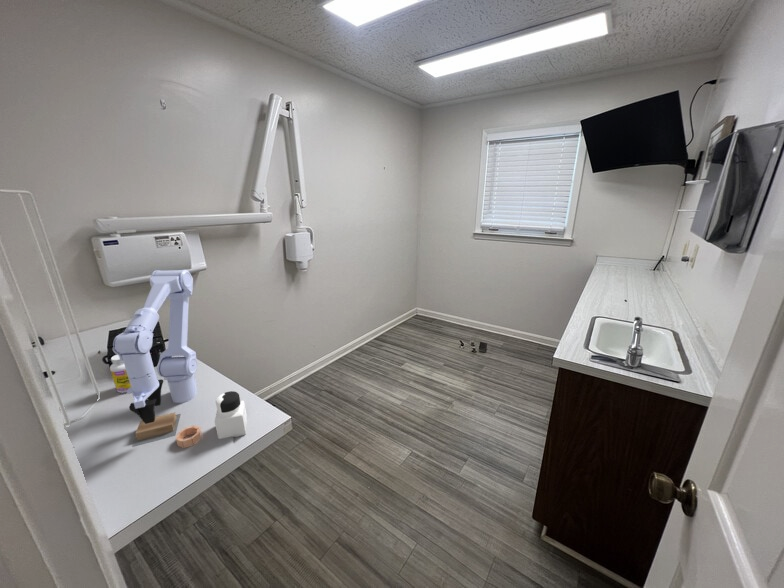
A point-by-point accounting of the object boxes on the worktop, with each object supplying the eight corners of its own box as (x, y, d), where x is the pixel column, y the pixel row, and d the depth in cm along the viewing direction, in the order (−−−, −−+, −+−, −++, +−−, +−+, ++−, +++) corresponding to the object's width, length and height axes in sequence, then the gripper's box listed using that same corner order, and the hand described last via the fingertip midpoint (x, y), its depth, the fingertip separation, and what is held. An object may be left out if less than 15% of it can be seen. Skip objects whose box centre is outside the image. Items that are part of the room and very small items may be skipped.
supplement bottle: (116, 396, 106) (106, 363, 102) (117, 386, 111) (107, 355, 107) (141, 388, 110) (132, 357, 106) (140, 380, 115) (131, 349, 111)
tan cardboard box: (142, 427, 91) (140, 420, 91) (176, 418, 95) (175, 412, 94) (137, 440, 87) (135, 433, 86) (173, 431, 90) (171, 424, 89)
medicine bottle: (247, 418, 96) (241, 386, 92) (246, 435, 90) (239, 400, 86) (221, 424, 94) (214, 391, 90) (218, 441, 87) (211, 406, 84)
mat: (142, 425, 93) (141, 423, 93) (181, 415, 97) (180, 413, 97) (132, 449, 85) (131, 446, 84) (175, 437, 89) (175, 435, 88)
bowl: (180, 437, 89) (178, 429, 88) (202, 431, 91) (200, 423, 90) (177, 452, 84) (174, 443, 83) (200, 445, 86) (198, 436, 85)
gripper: (131, 363, 89) (142, 402, 93) (113, 391, 77) (128, 435, 81) (160, 357, 92) (170, 396, 96) (148, 384, 79) (160, 426, 84)
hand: (153, 413), depth 89 cm, fingers open, 7 cm apart
